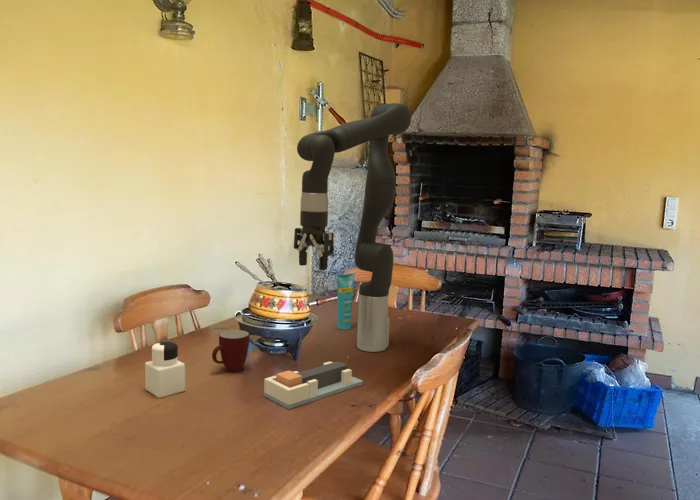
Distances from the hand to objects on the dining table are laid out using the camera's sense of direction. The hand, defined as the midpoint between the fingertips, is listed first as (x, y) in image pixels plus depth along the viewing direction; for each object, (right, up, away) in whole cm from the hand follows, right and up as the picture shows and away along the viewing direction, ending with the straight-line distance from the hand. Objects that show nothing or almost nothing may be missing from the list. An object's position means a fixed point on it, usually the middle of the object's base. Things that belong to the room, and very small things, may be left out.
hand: (312, 267), depth 164 cm
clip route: (+1, -31, -14) cm, 34 cm away
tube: (+8, -22, +42) cm, 48 cm away
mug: (-22, -28, -2) cm, 36 cm away
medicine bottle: (-35, -30, -17) cm, 50 cm away
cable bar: (+1, -30, -14) cm, 33 cm away
